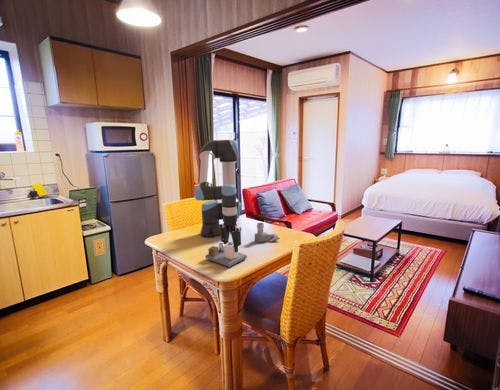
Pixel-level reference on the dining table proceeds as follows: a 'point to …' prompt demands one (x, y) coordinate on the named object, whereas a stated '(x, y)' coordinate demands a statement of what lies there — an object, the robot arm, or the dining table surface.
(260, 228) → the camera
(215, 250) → the walnut part
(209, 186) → the robot arm
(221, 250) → the metal part
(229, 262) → the grey flat block
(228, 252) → the plastic part
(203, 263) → the dining table surface
